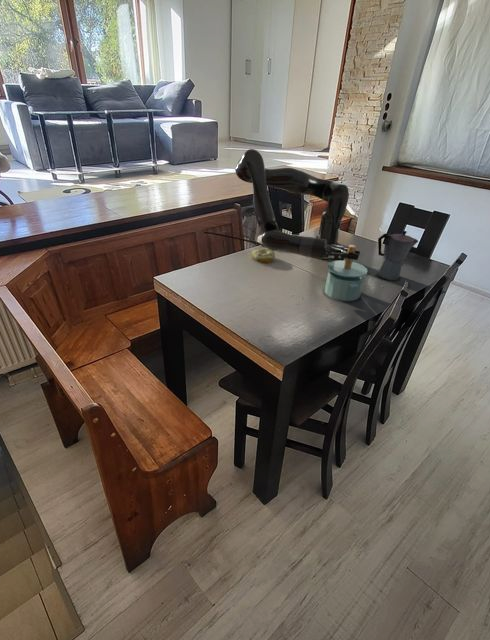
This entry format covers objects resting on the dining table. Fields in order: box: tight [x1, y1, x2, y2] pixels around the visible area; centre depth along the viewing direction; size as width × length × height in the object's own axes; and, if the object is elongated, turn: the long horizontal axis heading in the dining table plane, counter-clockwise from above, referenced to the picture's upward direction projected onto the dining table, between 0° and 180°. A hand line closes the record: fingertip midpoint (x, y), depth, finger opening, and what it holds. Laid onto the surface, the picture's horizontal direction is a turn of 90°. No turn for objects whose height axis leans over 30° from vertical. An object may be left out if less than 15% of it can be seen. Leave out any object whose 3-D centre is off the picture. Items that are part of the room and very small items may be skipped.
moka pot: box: [377, 230, 419, 281], centre depth 152 cm, size 10×15×20 cm, turn 78°
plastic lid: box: [256, 234, 263, 244], centre depth 189 cm, size 14×14×2 cm
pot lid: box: [326, 244, 368, 277], centre depth 134 cm, size 15×15×10 cm
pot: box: [324, 270, 366, 302], centre depth 140 cm, size 14×19×8 cm
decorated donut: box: [252, 248, 276, 264], centre depth 170 cm, size 10×11×4 cm
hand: (358, 255), depth 132 cm, fingers closed on pot lid, 2 cm apart
